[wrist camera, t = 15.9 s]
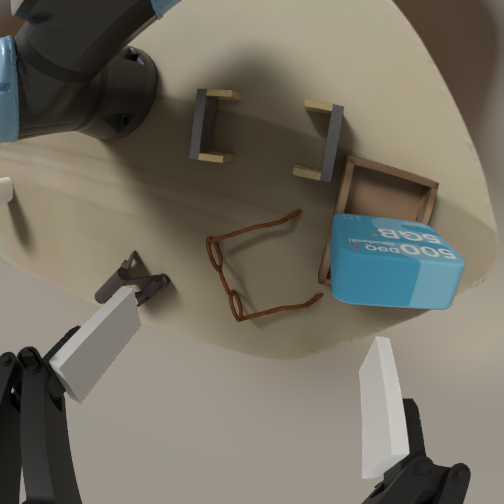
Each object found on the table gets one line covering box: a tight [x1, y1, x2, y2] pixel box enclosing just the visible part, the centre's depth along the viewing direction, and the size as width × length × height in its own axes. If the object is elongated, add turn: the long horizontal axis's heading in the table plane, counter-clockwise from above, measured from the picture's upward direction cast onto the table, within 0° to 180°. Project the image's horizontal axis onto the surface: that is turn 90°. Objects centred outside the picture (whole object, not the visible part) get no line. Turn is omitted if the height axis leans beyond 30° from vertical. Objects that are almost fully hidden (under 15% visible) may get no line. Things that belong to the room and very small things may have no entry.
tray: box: [318, 155, 439, 286], centre depth 32 cm, size 16×12×3 cm
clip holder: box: [189, 89, 344, 183], centre depth 30 cm, size 9×16×4 cm, turn 82°
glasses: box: [206, 210, 323, 322], centre depth 37 cm, size 13×13×5 cm
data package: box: [330, 214, 465, 310], centre depth 25 cm, size 12×4×12 cm, turn 90°
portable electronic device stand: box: [95, 251, 170, 307], centre depth 41 cm, size 9×8×8 cm
